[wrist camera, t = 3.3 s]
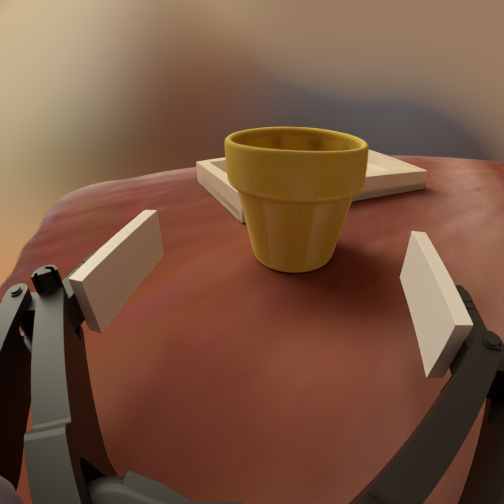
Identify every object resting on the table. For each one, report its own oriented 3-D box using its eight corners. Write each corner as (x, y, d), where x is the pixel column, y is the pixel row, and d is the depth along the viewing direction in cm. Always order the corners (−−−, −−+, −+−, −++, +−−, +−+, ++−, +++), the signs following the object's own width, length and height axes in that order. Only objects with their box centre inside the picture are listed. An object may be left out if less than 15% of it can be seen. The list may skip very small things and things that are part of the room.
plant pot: (257, 305, 20) (257, 154, 15) (215, 236, 28) (209, 130, 23) (377, 270, 23) (398, 149, 18) (313, 219, 32) (318, 125, 27)
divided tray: (358, 161, 54) (359, 146, 53) (424, 188, 42) (427, 170, 40) (197, 181, 43) (196, 161, 42) (242, 223, 31) (241, 195, 29)
